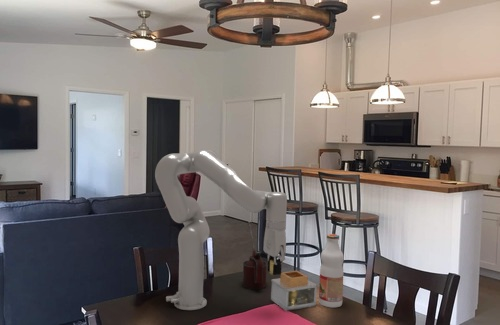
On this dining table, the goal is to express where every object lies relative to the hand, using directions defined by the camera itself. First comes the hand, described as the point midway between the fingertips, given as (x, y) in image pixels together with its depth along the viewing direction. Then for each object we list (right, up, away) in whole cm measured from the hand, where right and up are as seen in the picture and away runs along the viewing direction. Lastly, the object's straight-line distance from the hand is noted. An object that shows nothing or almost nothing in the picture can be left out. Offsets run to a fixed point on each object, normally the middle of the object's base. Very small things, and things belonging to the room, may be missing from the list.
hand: (274, 272), depth 152 cm
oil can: (-8, -14, +33) cm, 37 cm away
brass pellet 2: (+8, -14, +10) cm, 19 cm away
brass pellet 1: (0, 0, 0) cm, 0 cm away
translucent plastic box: (+8, -15, +10) cm, 20 cm away
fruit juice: (+23, -16, +10) cm, 30 cm away
